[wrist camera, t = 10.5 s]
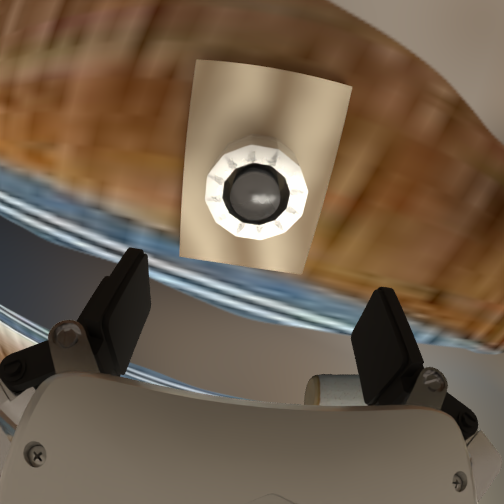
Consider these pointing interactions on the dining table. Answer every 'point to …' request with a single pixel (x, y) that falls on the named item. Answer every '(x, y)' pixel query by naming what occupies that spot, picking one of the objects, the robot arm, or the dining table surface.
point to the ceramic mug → (334, 390)
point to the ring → (262, 153)
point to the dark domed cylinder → (255, 191)
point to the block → (267, 124)
